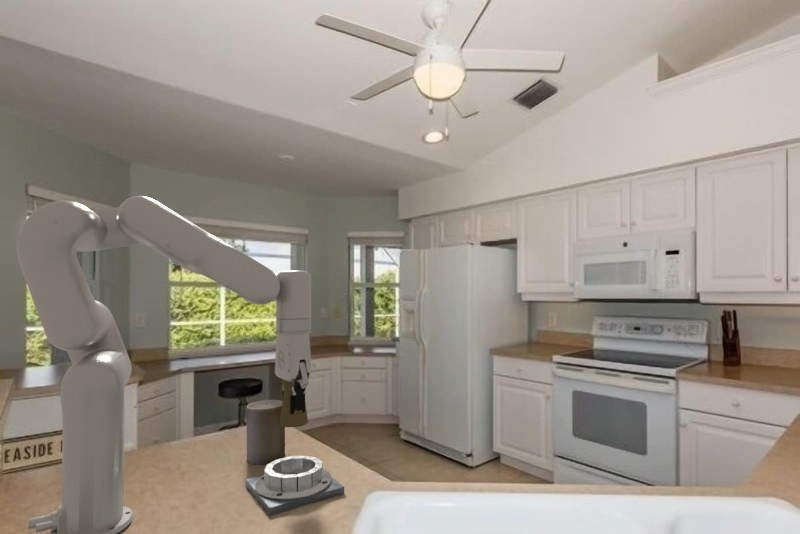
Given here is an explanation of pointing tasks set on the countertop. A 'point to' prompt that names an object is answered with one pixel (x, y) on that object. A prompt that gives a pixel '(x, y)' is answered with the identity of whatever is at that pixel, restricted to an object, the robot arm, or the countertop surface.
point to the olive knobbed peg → (286, 416)
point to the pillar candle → (265, 432)
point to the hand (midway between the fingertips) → (293, 410)
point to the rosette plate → (293, 484)
